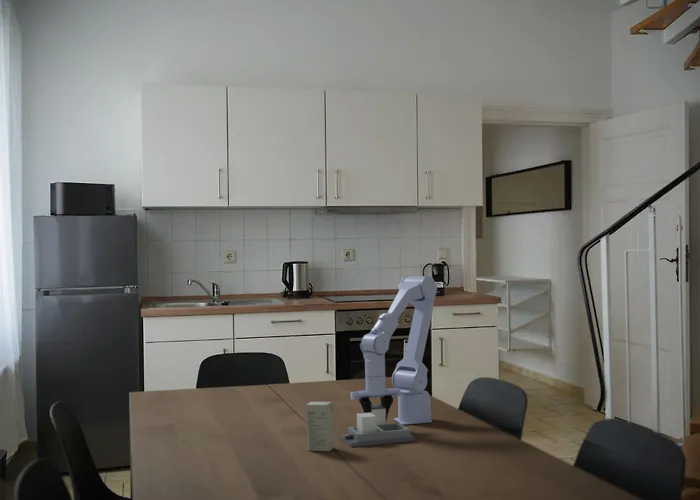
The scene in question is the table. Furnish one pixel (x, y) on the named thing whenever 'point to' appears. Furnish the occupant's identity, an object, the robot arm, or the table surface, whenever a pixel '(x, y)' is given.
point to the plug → (379, 413)
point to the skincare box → (320, 426)
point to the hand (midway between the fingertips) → (376, 422)
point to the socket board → (375, 432)
